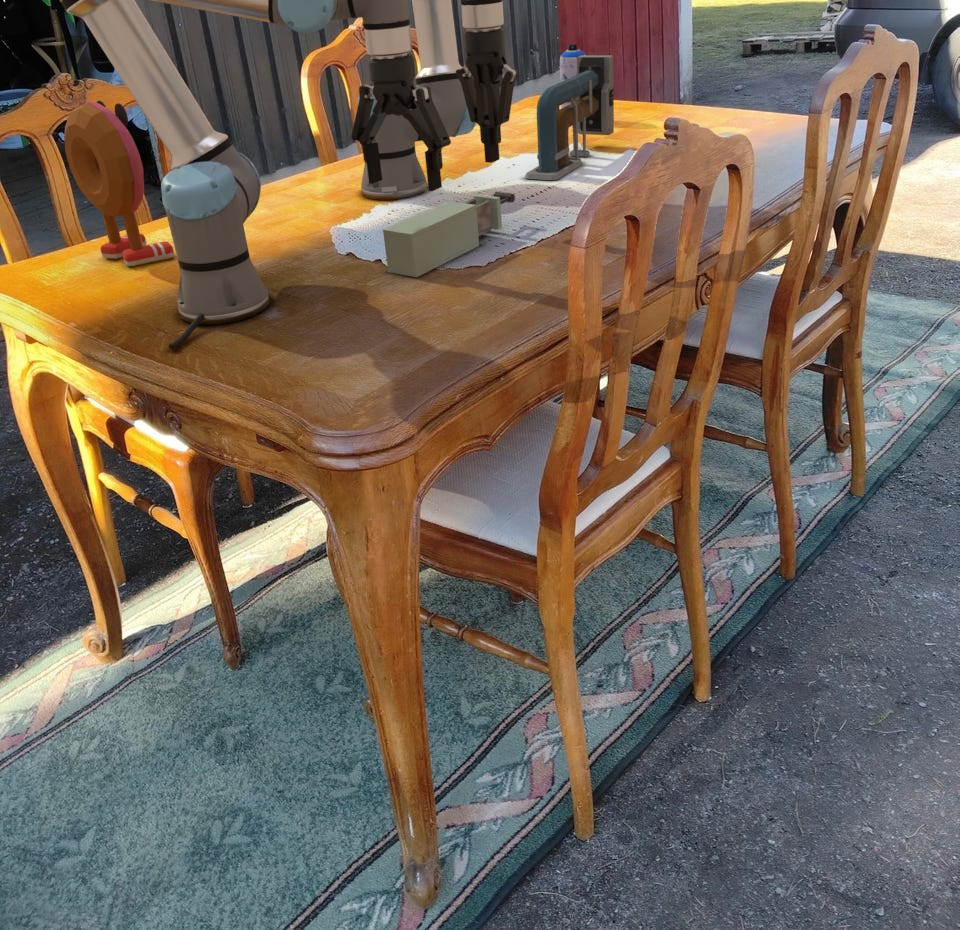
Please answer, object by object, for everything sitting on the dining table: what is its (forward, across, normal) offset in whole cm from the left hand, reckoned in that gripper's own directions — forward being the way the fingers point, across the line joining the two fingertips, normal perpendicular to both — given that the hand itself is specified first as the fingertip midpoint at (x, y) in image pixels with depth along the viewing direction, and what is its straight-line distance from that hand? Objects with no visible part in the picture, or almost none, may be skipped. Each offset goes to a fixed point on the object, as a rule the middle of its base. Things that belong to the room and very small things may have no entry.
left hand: (404, 185), depth 169 cm
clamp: (+15, +14, -78) cm, 80 cm away
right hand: (+2, 0, -26) cm, 26 cm away
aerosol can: (+15, +38, -120) cm, 126 cm away
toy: (+15, +58, +18) cm, 63 cm away
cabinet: (+15, 0, -6) cm, 16 cm away
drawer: (+14, 0, -18) cm, 23 cm away
